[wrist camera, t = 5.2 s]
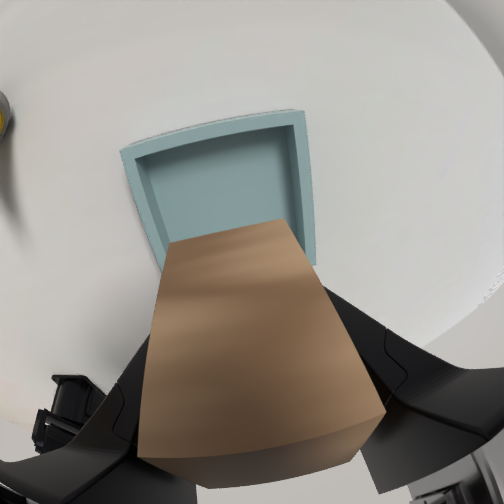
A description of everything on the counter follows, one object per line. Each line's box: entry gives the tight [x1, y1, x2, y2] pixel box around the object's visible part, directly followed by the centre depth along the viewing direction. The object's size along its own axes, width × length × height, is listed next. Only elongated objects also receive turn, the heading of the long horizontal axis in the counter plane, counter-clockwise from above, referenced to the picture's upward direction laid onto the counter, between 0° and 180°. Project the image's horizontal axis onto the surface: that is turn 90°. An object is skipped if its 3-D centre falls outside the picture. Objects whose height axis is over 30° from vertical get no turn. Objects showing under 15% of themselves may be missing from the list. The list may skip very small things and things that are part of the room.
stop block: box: [137, 218, 386, 489], centre depth 7 cm, size 4×4×7 cm
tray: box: [120, 109, 316, 272], centre depth 16 cm, size 10×10×2 cm
